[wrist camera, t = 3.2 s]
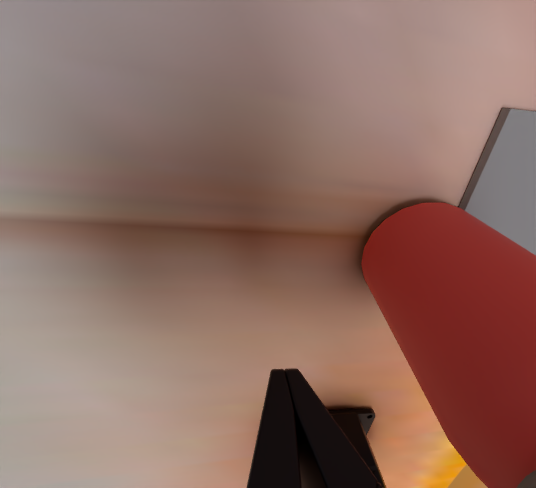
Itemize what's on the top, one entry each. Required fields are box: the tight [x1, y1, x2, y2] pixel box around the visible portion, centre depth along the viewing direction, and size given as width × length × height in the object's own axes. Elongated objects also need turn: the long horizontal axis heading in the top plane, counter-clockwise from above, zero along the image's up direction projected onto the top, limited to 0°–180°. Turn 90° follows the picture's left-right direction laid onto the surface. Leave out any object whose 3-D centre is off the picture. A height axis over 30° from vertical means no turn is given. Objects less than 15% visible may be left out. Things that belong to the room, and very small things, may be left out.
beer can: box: [361, 203, 536, 488], centre depth 12 cm, size 7×7×12 cm
